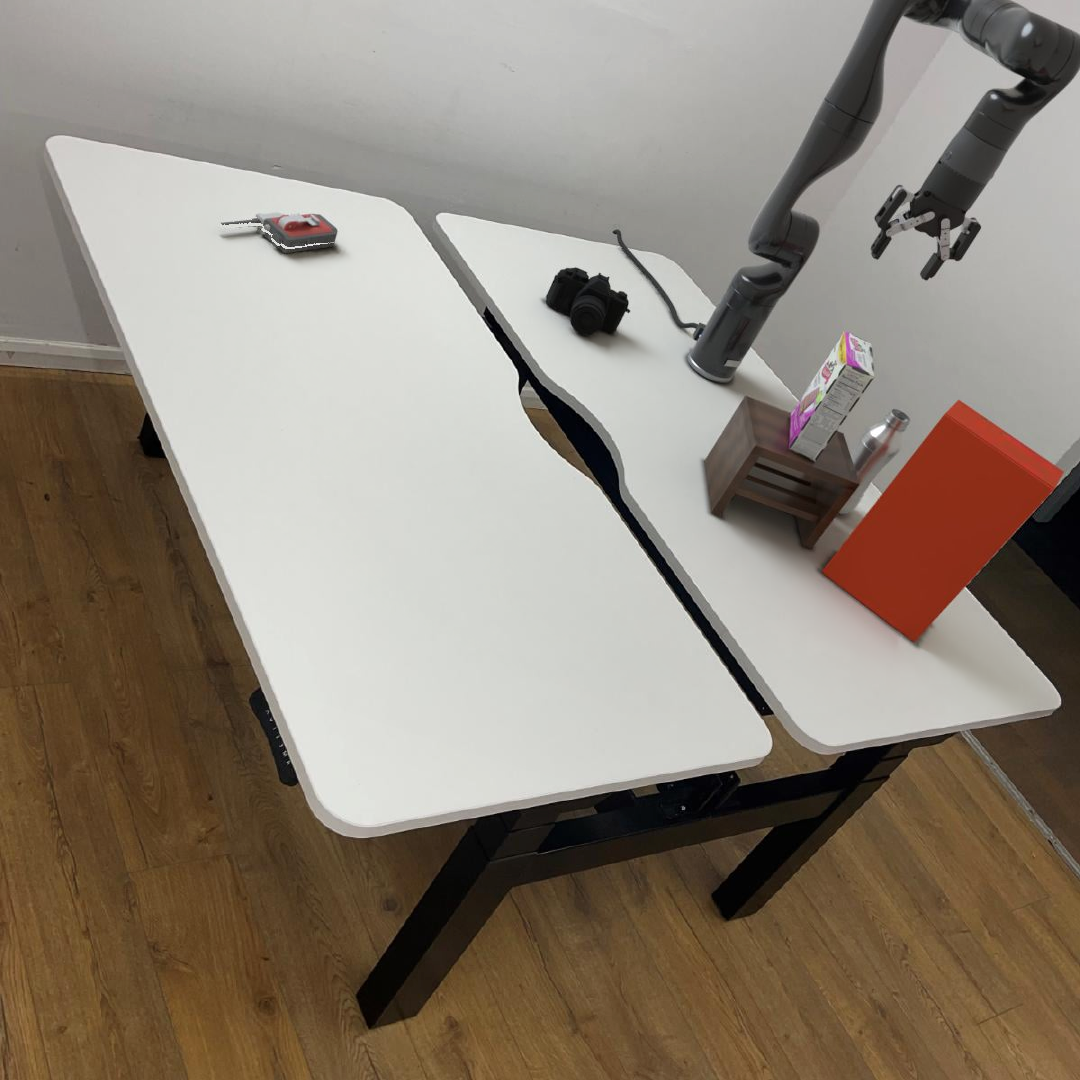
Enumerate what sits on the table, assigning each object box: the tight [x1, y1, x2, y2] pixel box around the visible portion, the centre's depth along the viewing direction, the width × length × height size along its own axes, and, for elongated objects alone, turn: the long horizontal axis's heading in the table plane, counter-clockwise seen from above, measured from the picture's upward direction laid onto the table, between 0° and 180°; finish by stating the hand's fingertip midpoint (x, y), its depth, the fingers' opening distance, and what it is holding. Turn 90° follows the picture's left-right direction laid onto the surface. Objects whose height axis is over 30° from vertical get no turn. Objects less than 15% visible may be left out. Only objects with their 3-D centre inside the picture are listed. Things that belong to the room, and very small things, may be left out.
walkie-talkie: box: [220, 212, 339, 254], centre depth 173 cm, size 9×4×20 cm
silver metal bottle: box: [838, 408, 912, 515], centre depth 174 cm, size 6×7×20 cm
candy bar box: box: [789, 331, 875, 461], centre depth 158 cm, size 11×5×16 cm, turn 169°
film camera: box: [545, 267, 631, 336], centre depth 191 cm, size 15×10×9 cm, turn 81°
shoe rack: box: [703, 395, 860, 549], centre depth 167 cm, size 14×18×14 cm
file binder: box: [821, 399, 1065, 643], centre depth 155 cm, size 8×17×32 cm, turn 55°
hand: (898, 267), depth 157 cm, fingers open, 8 cm apart
